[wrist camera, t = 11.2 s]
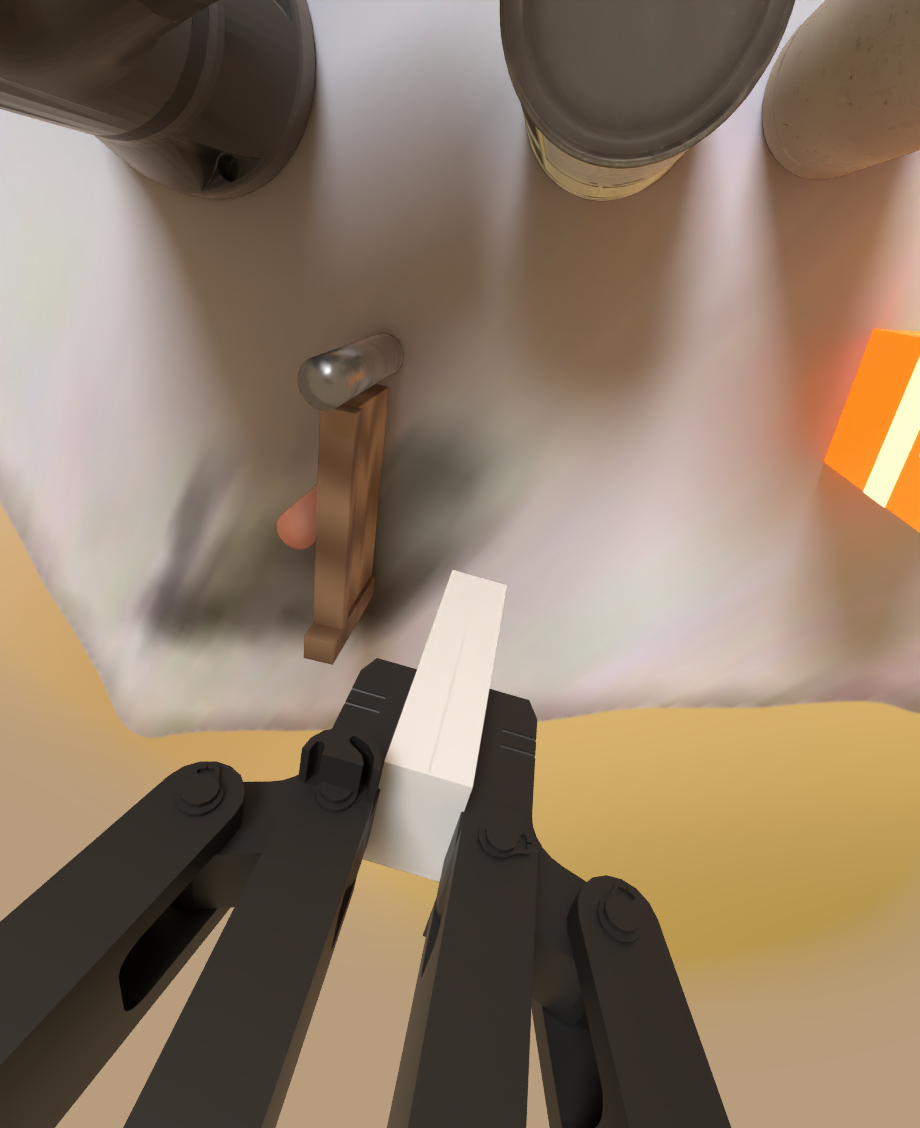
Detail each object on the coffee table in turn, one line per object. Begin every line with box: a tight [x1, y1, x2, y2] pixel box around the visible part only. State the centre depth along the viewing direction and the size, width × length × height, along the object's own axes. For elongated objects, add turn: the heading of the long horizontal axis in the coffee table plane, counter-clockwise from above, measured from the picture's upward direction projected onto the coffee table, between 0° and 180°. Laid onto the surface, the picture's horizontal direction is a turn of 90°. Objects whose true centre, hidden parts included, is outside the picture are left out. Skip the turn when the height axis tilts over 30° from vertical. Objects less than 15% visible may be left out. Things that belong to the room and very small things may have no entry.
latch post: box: [277, 484, 318, 549], centre depth 44 cm, size 3×3×7 cm
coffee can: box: [500, 0, 795, 201], centre depth 26 cm, size 10×10×14 cm
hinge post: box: [298, 334, 403, 410], centre depth 35 cm, size 3×3×12 cm
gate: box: [304, 384, 389, 665], centre depth 41 cm, size 18×2×10 cm, turn 171°
